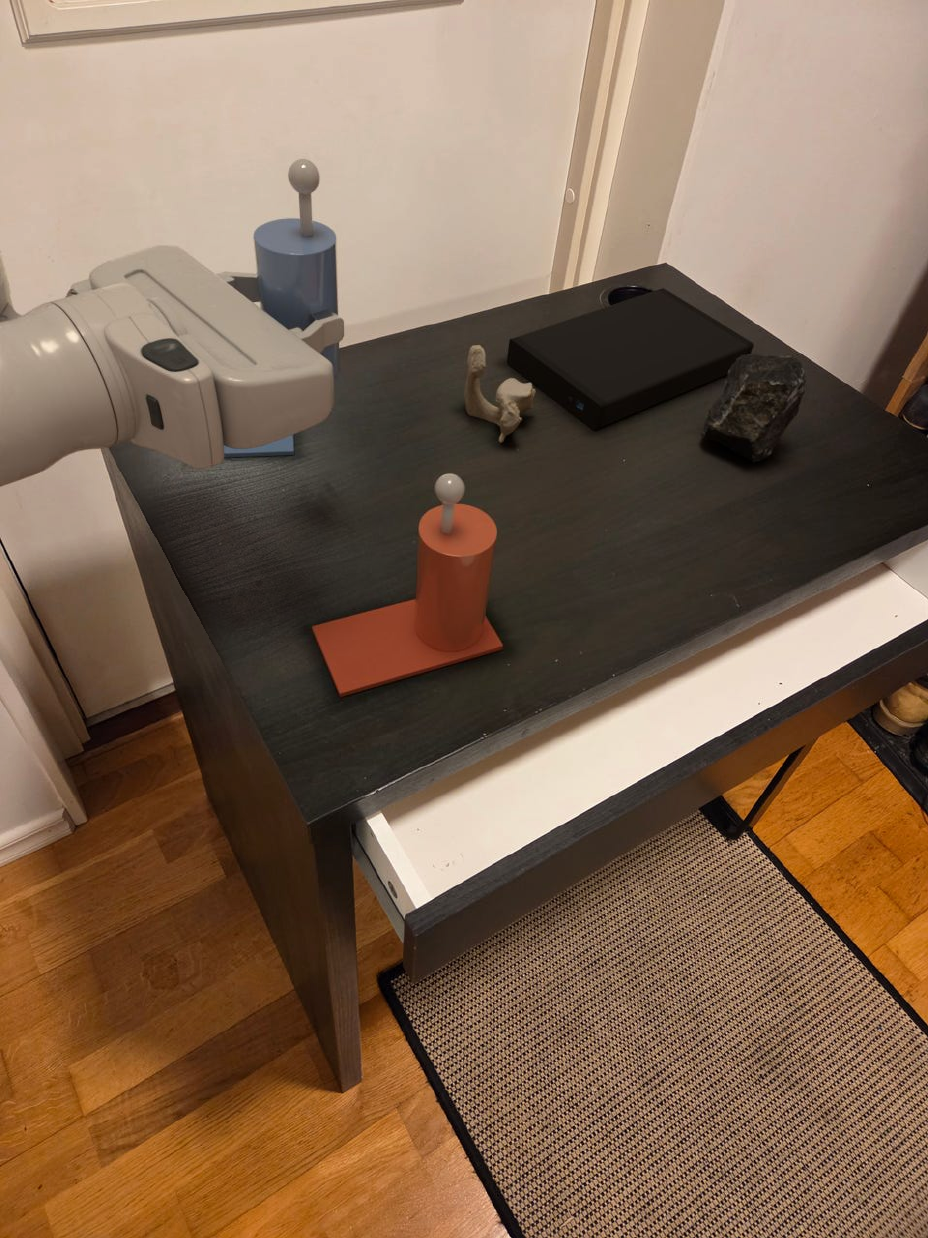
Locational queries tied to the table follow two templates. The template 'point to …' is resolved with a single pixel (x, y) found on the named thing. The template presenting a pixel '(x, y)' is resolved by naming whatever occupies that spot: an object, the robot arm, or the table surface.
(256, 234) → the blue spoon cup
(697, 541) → the table surface
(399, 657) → the red mat
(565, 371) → the external hard drive
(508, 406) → the bone
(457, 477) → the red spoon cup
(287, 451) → the blue mat
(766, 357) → the rock
